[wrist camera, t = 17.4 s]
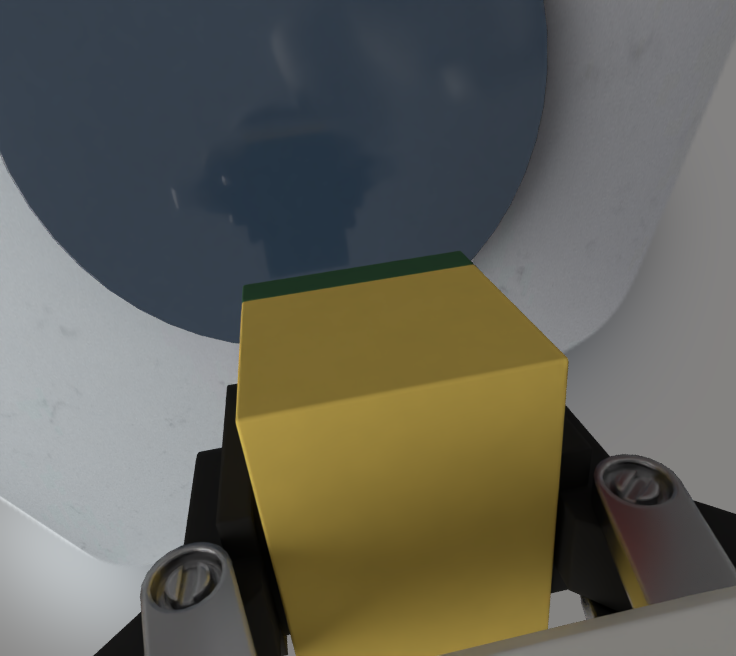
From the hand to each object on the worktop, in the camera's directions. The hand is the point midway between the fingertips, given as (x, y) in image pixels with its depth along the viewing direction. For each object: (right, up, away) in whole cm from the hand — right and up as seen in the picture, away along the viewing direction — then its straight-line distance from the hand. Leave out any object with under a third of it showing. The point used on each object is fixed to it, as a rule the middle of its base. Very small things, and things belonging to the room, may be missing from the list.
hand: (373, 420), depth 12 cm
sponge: (0, 0, 0) cm, 0 cm away
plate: (-3, +10, +7) cm, 13 cm away
